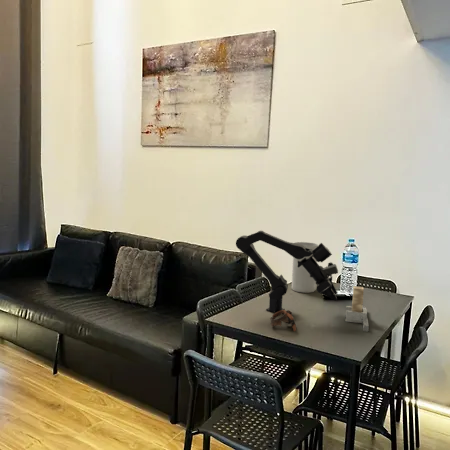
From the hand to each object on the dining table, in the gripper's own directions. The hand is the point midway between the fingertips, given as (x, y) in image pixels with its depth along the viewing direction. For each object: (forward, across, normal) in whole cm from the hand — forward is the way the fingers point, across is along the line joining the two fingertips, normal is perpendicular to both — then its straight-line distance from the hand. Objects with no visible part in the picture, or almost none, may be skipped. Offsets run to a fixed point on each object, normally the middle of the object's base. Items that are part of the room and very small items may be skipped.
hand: (336, 296), depth 191 cm
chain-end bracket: (+12, -2, 0) cm, 12 cm away
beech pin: (+12, -1, 0) cm, 12 cm away
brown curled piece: (-7, -23, +20) cm, 31 cm away
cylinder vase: (-4, +40, +20) cm, 45 cm away
